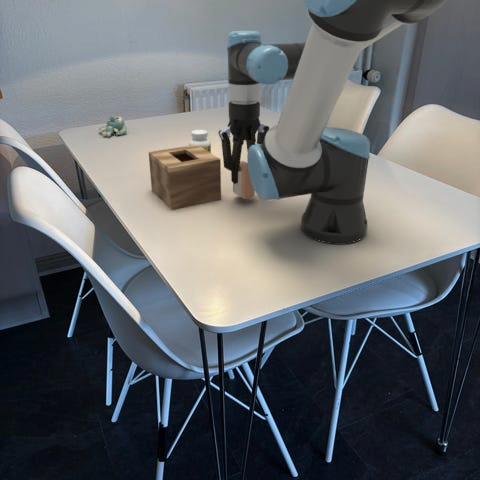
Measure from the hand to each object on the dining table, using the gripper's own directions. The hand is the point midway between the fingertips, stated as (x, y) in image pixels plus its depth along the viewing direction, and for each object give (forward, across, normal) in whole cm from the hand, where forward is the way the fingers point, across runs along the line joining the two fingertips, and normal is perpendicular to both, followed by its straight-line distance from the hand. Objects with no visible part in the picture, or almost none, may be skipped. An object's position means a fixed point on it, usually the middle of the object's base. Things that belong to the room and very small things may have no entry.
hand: (244, 192), depth 129 cm
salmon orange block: (0, 0, 0) cm, 0 cm away
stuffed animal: (0, +12, -76) cm, 77 cm away
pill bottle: (+2, 0, -27) cm, 27 cm away
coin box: (+2, +12, -11) cm, 16 cm away
